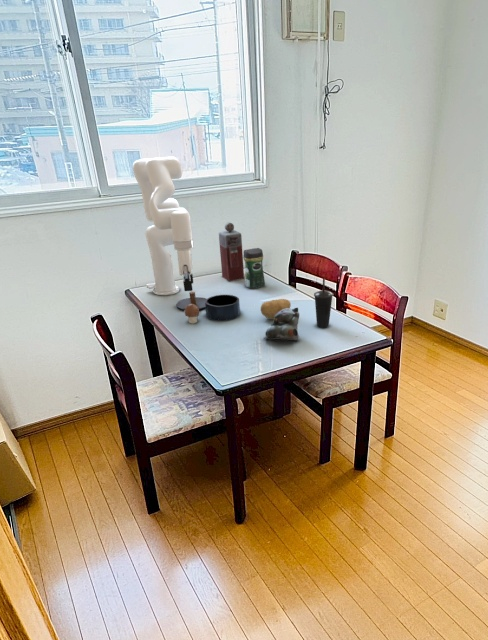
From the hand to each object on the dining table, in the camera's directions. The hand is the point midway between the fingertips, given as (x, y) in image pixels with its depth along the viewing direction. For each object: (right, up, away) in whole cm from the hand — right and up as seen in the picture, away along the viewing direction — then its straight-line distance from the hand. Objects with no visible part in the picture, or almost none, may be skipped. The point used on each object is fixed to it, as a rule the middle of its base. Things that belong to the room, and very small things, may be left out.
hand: (189, 287), depth 203 cm
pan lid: (-3, -2, +24) cm, 25 cm away
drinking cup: (+55, -16, +1) cm, 57 cm away
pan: (+12, -9, +14) cm, 21 cm away
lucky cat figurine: (+38, -23, -9) cm, 45 cm away
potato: (+36, -11, +10) cm, 39 cm away
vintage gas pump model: (+13, +18, +58) cm, 62 cm away
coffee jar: (+24, +11, +46) cm, 54 cm away
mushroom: (0, -13, +8) cm, 15 cm away
